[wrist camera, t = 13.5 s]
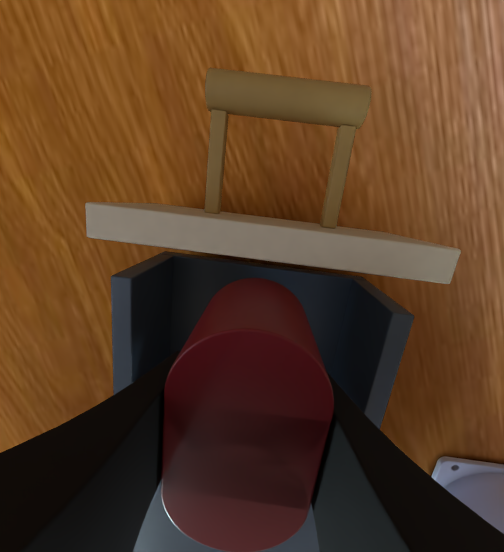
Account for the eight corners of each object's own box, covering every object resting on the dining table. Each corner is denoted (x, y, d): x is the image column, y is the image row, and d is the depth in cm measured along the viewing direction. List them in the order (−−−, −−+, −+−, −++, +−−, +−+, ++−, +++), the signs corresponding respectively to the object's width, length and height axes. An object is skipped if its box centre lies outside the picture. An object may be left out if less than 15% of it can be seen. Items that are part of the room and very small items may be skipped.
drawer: (158, 91, 13) (75, 4, 7) (412, 121, 13) (528, 54, 7) (150, 420, 18) (98, 516, 12) (330, 446, 18) (359, 556, 12)
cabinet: (148, 352, 18) (66, 455, 10) (350, 380, 17) (411, 506, 10) (145, 518, 22) (84, 675, 15) (308, 542, 22) (330, 715, 14)
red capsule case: (315, 284, 10) (352, 342, 6) (286, 437, 11) (297, 563, 7) (207, 270, 10) (165, 317, 6) (195, 424, 12) (157, 542, 7)
